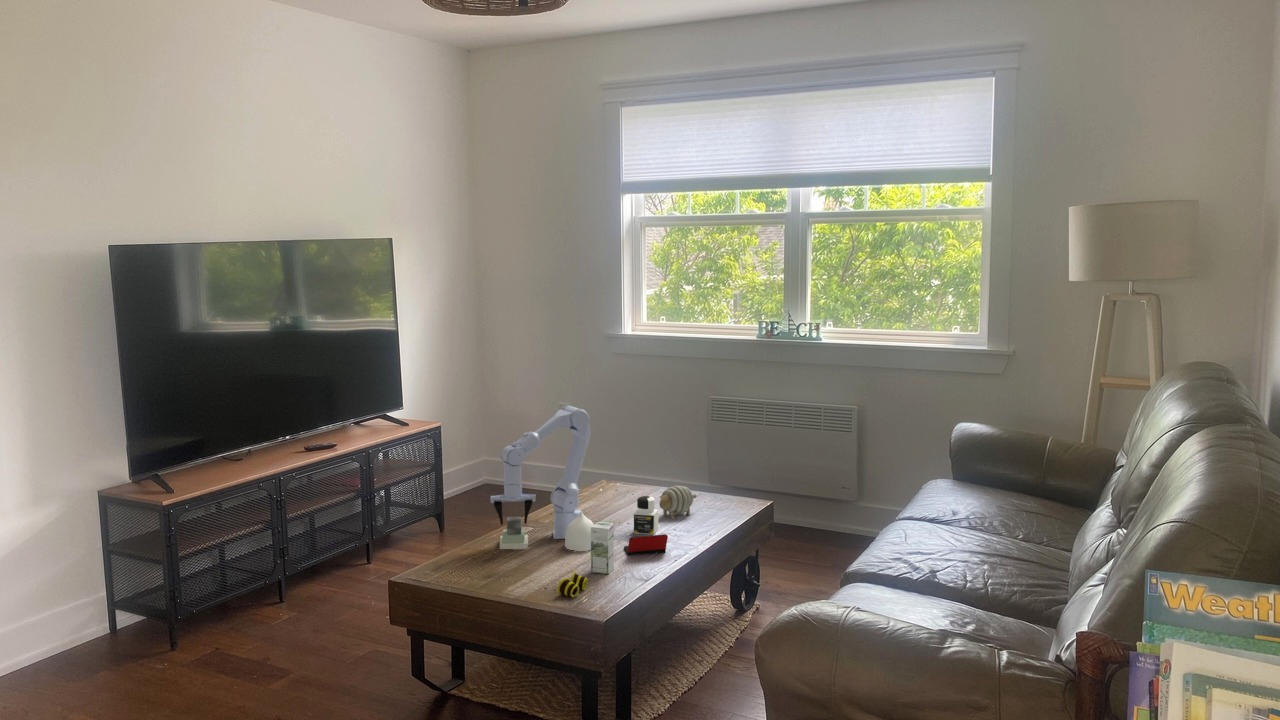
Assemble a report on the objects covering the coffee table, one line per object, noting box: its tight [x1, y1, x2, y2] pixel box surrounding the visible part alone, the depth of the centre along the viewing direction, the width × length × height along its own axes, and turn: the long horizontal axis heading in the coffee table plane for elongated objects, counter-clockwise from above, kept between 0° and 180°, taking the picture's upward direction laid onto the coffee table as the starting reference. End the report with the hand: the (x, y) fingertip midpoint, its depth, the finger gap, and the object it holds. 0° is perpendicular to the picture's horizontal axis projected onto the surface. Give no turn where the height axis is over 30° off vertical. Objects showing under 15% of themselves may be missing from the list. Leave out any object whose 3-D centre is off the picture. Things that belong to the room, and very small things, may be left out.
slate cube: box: [506, 516, 522, 534], centre depth 294 cm, size 4×4×4 cm
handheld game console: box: [623, 533, 669, 556], centre depth 286 cm, size 12×11×7 cm
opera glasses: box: [556, 571, 589, 598], centre depth 253 cm, size 10×5×5 cm, turn 157°
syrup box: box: [590, 521, 615, 575], centre depth 269 cm, size 6×6×14 cm
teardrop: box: [564, 510, 594, 552], centre depth 292 cm, size 11×11×12 cm
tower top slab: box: [501, 528, 526, 544], centre depth 294 cm, size 7×7×2 cm
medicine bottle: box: [633, 495, 659, 536], centre depth 308 cm, size 7×7×12 cm
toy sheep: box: [658, 485, 697, 519], centre depth 326 cm, size 11×17×11 cm, turn 133°
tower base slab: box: [499, 534, 529, 550], centre depth 294 cm, size 9×9×2 cm
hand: (513, 523), depth 293 cm, fingers open, 7 cm apart
